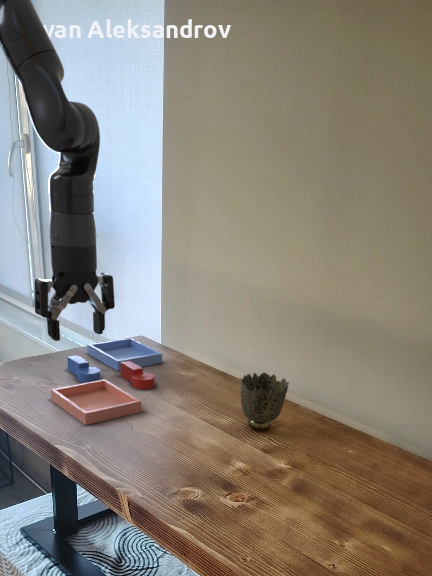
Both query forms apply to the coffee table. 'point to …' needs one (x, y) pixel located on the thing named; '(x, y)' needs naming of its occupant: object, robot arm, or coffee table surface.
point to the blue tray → (124, 353)
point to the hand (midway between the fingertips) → (77, 336)
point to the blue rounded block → (83, 369)
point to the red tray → (95, 401)
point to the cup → (262, 399)
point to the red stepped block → (137, 375)
